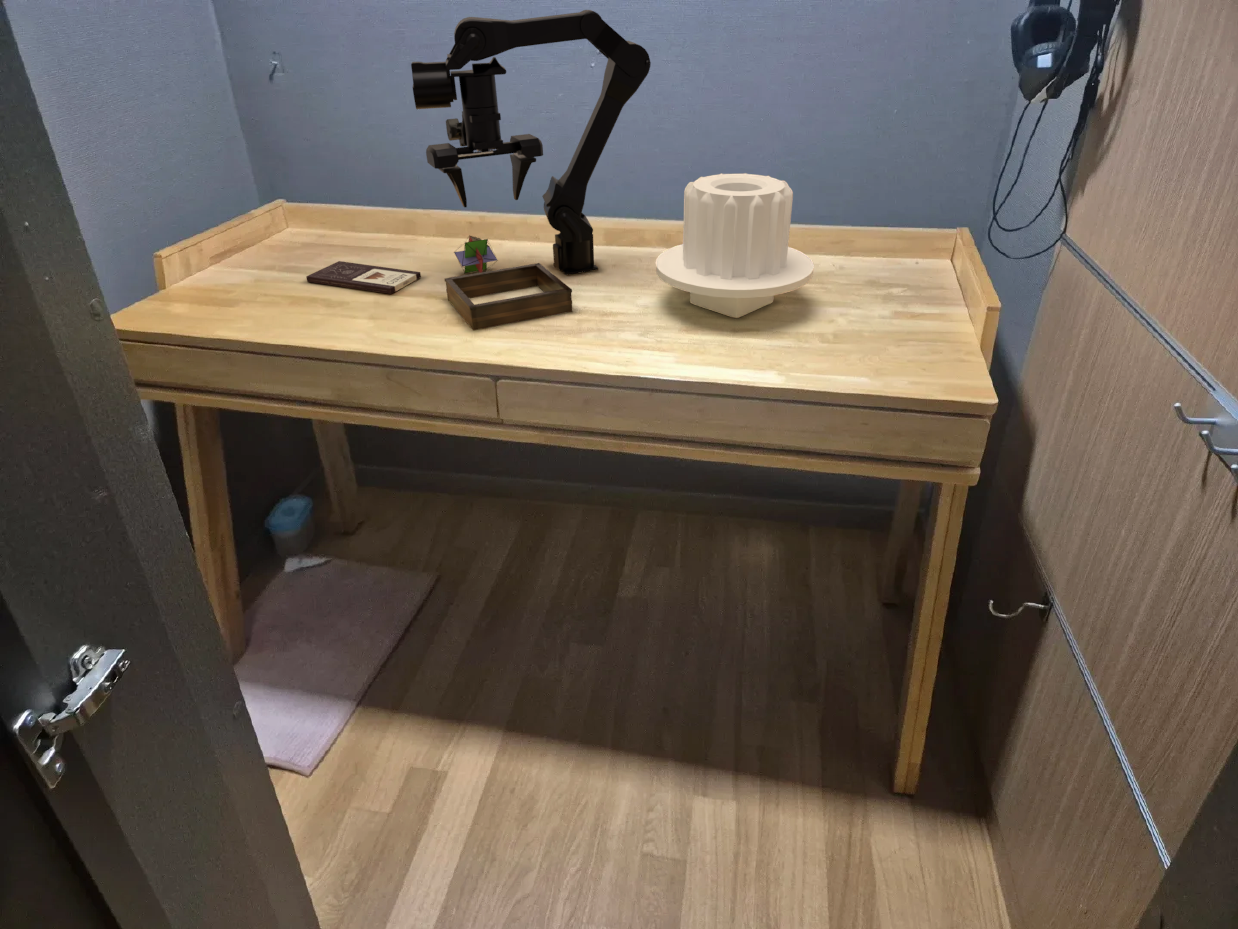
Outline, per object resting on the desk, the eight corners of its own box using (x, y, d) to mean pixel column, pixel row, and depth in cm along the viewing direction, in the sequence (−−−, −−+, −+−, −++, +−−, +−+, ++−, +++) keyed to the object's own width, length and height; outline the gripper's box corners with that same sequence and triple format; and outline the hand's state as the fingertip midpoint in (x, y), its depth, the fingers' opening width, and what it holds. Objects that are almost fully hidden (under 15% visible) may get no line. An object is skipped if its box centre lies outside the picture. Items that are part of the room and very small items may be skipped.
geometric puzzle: (505, 266, 144) (492, 224, 144) (468, 273, 141) (454, 229, 141) (495, 281, 150) (483, 240, 151) (460, 287, 148) (447, 245, 148)
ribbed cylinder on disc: (720, 267, 148) (726, 158, 138) (839, 301, 133) (855, 182, 123) (624, 304, 134) (622, 185, 124) (744, 347, 118) (754, 216, 108)
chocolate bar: (339, 260, 151) (420, 272, 145) (340, 265, 152) (421, 277, 146) (306, 276, 144) (389, 288, 138) (307, 281, 145) (390, 293, 139)
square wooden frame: (540, 283, 143) (539, 262, 141) (573, 311, 131) (572, 289, 129) (447, 299, 137) (444, 278, 135) (472, 330, 125) (470, 307, 123)
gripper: (518, 94, 141) (526, 186, 150) (411, 104, 135) (426, 199, 143) (540, 102, 133) (547, 199, 141) (428, 113, 126) (442, 215, 135)
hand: (490, 203), depth 140 cm, fingers open, 9 cm apart
